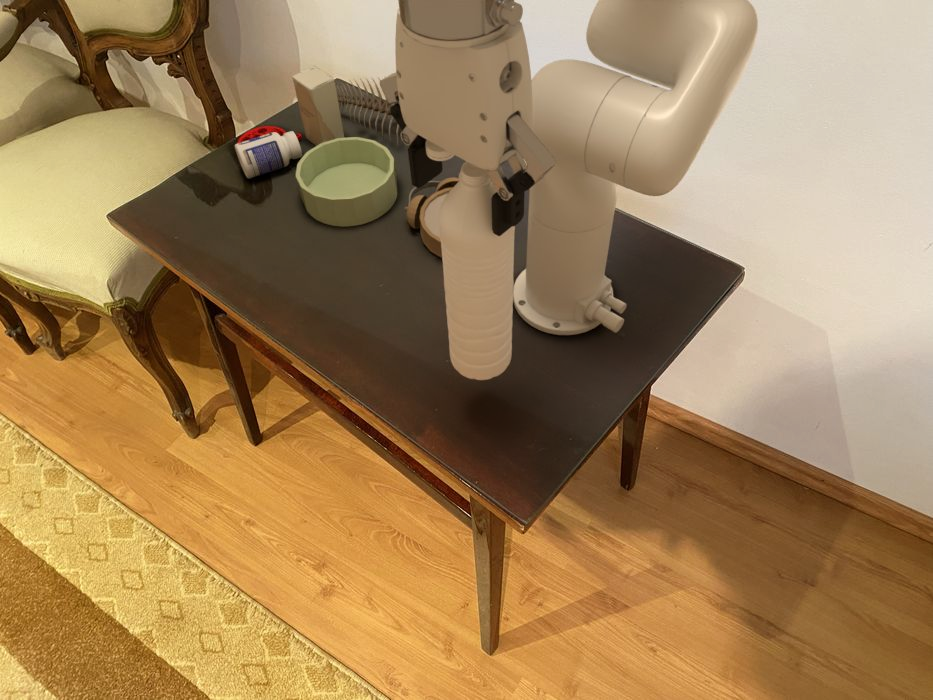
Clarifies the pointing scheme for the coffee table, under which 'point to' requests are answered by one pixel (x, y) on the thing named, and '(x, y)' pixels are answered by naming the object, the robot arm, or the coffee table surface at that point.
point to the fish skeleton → (367, 104)
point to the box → (318, 105)
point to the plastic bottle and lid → (475, 274)
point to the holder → (347, 181)
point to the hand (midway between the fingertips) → (466, 201)
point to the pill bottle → (267, 153)
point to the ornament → (257, 133)
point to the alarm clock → (429, 212)
